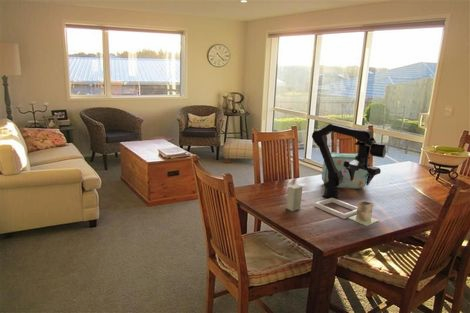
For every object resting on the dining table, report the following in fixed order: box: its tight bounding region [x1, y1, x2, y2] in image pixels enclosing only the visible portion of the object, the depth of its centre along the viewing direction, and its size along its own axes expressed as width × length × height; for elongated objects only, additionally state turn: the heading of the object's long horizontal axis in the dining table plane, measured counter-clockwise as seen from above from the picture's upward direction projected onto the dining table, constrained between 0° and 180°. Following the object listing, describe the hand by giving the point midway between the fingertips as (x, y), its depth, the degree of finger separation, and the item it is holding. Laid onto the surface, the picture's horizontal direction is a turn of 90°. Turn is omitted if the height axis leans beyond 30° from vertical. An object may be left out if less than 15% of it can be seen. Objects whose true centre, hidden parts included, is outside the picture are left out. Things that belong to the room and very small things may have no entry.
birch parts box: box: [356, 200, 374, 222], centre depth 171 cm, size 5×5×8 cm
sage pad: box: [347, 215, 380, 227], centre depth 172 cm, size 10×10×1 cm
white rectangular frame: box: [314, 198, 358, 220], centre depth 184 cm, size 18×14×2 cm
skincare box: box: [286, 183, 303, 212], centre depth 181 cm, size 6×4×12 cm
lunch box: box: [321, 152, 370, 190], centre depth 217 cm, size 27×10×21 cm, turn 89°
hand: (359, 182), depth 189 cm, fingers open, 9 cm apart
